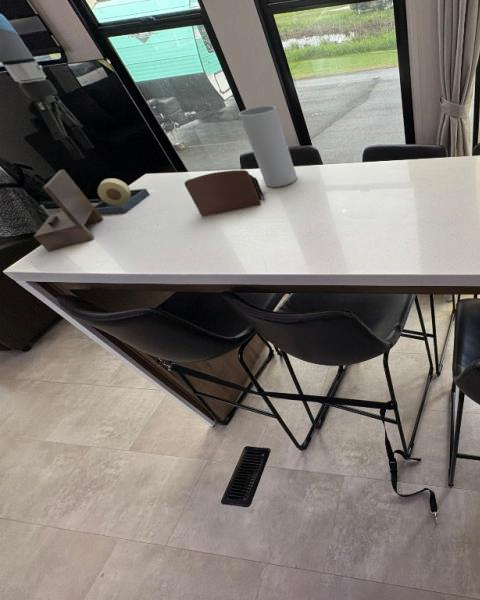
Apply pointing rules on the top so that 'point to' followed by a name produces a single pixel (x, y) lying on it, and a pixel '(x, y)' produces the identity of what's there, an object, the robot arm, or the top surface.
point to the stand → (67, 215)
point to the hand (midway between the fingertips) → (85, 153)
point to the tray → (134, 199)
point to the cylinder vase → (269, 145)
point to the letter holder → (224, 191)
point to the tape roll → (114, 191)
